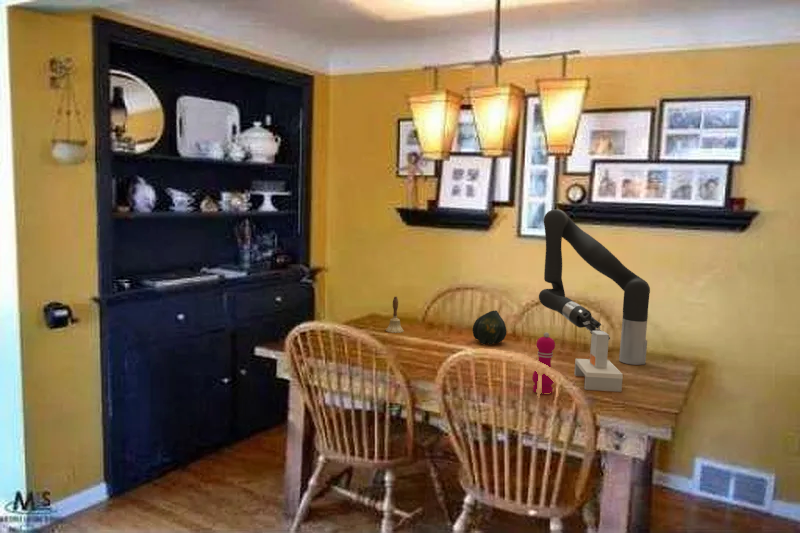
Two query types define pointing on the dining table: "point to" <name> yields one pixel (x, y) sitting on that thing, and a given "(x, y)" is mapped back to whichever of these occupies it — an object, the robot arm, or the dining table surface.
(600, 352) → the skincare box
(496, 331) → the squash
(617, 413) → the dining table surface
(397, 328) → the hand bell
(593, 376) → the shelf bench
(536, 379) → the pepper mill
